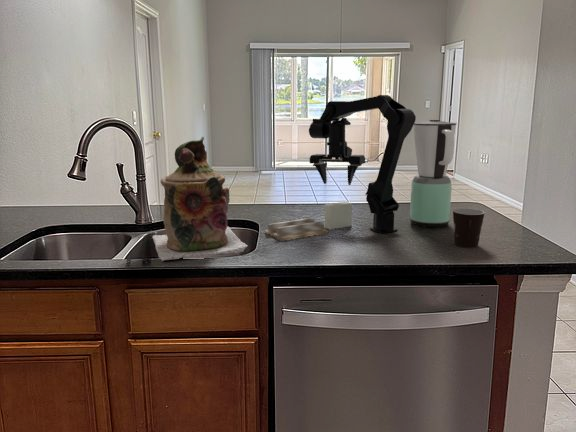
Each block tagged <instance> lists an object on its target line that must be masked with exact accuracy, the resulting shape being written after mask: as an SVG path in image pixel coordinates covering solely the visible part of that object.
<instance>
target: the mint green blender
mask: <svg viewBox="0 0 576 432" xmlns="http://www.w3.org/2000/svg"><path fill="white" fill-rule="evenodd" d="M456 127H457V122H448V121H444V120H443V121H442V120H440V119H429V120H426V121H420V122H419V121H418V122H415V123H414V125H413V134H414V135H413V137H414V145H415V155H416V164H417V166H416V167H417V172H418V173H417V174H416V175H415V176H414V177H413V179H412V181H411V191H410V204H409V205H410V207H409V209H410V210H409V221H410V223H411V224H414V225H418V226H420V227H421V229H422V230H423V229H424V230H426V229H428V227H442V228H448V227H449V223H450V220H451V219H450V218H451V207H452V206H451V204H452V202H451V201H452V180H451V179H450V177H449V176H448V175H447V172H448V166H449V165H450V163H451V162H452V161H453V159H454V152H455V151H454V150H455V134H456V129H457V128H456Z"/></svg>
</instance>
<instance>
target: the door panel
mask: <svg viewBox="0 0 576 432" xmlns="http://www.w3.org/2000/svg"><path fill="white" fill-rule="evenodd" d="M352 216H353V202H350V201H340V202H332V203H325V204H324V229H326V230H335V228H336V229H342V228H347V227H352V222H353V221H352V220H353V218H352Z"/></svg>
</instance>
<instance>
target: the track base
mask: <svg viewBox="0 0 576 432" xmlns="http://www.w3.org/2000/svg"><path fill="white" fill-rule="evenodd" d="M315 220H316V218H315V217H307V218H301V219H300V218H299V219H295V220H288V221H282V222H274V223H268V224H267V229H264V234H265V233H267V234H266V235H268V234H270V235H271V236H270V235H269V236H270V237H272V236H273V237H272V238H274V237H275V238H274V239H276V238H278V239H279V240H278V239H277V240H278V241H280V240H282V241H281V242H285V241H284V240H287V241H290V240H289V239H293V240H297V239H296V238H298V239H303V238H302V237H304V238H309V237H308V236H310V237H315V236H314V235H316V236H321V235H326V234H327V235H328V234H329V229H326V228H325V220H320V221H315Z"/></svg>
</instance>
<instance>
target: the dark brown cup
mask: <svg viewBox="0 0 576 432" xmlns="http://www.w3.org/2000/svg"><path fill="white" fill-rule="evenodd" d="M484 217H485V211H483V210H481V209H476V208H469V207H468V208H466V207H465V208H462V207H461V208H456V209H453V210H452V219H453V220H452V221H453V235H454V238H453V239H454V245H455V246H457V247H459V248H464V249H465V248H466V249H474V248H477V247H478V246H479V243H480V236H481V233H482V227H483V224H484V223H483V222H484Z"/></svg>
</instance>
